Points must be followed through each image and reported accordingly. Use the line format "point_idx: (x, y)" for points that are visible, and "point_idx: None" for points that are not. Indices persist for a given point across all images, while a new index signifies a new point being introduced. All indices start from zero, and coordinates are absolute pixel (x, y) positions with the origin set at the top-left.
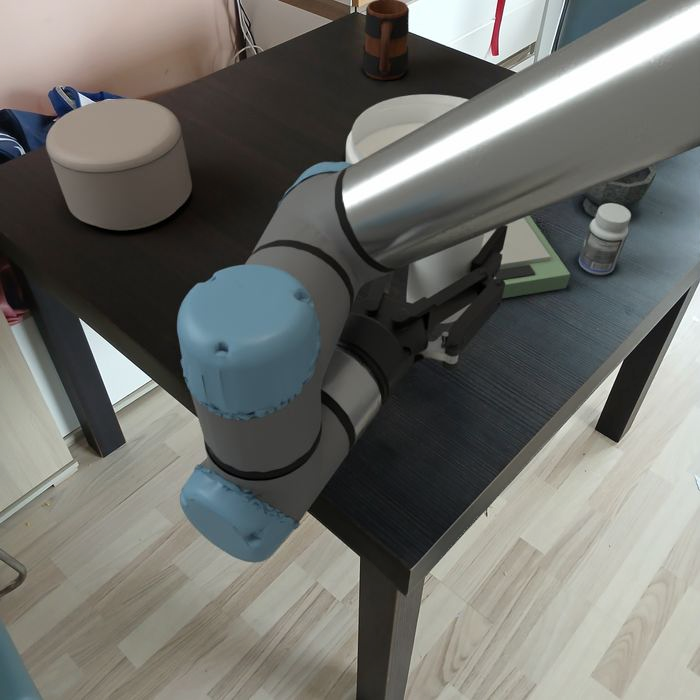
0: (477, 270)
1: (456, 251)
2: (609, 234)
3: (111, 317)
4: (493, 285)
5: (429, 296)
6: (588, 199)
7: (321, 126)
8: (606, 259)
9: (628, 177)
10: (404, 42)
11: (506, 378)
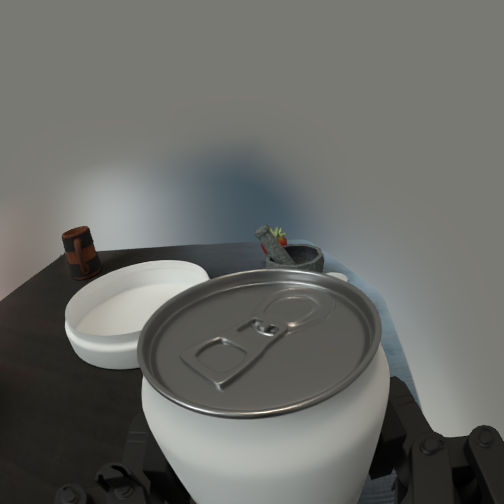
0: (417, 452)
1: (364, 458)
2: None
3: None
4: (486, 453)
5: None
6: None
7: (49, 322)
8: None
9: (298, 262)
10: (92, 248)
11: (372, 492)
